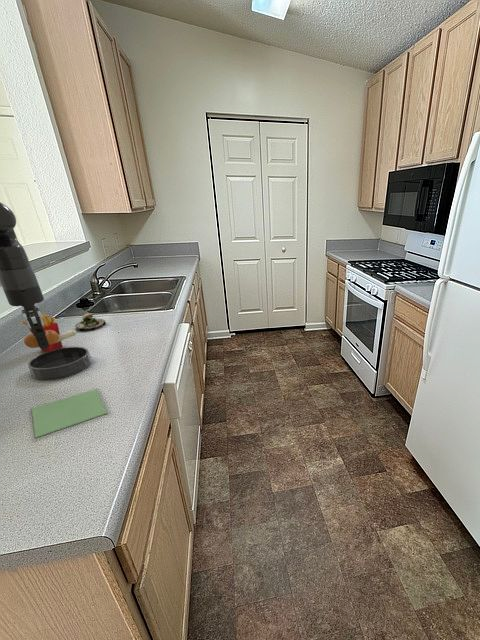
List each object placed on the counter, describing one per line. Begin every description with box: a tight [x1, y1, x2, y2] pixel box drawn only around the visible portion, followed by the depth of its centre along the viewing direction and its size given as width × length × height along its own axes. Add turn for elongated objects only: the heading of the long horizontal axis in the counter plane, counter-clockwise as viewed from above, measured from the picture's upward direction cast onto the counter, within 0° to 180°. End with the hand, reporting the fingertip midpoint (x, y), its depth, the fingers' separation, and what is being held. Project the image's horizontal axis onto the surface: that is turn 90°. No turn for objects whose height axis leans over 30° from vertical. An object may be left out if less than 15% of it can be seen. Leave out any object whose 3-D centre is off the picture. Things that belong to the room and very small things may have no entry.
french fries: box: [20, 313, 63, 352], centre depth 124 cm, size 9×8×15 cm
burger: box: [74, 313, 107, 332], centre depth 148 cm, size 12×12×8 cm
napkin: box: [31, 388, 108, 439], centre depth 91 cm, size 16×16×1 cm
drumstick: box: [23, 329, 77, 349], centre depth 95 cm, size 12×4×4 cm, turn 129°
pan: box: [27, 346, 93, 381], centre depth 113 cm, size 17×17×4 cm
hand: (44, 344), depth 94 cm, fingers closed on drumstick, 4 cm apart
